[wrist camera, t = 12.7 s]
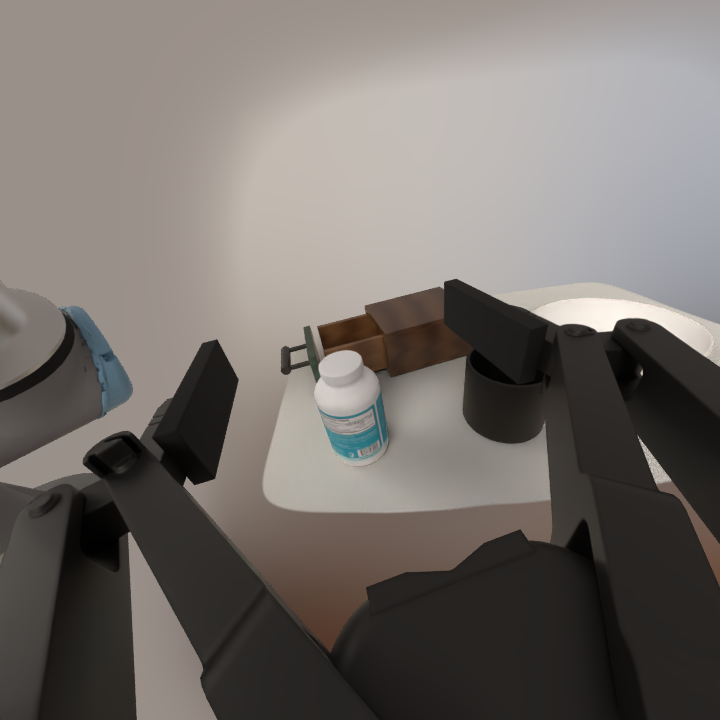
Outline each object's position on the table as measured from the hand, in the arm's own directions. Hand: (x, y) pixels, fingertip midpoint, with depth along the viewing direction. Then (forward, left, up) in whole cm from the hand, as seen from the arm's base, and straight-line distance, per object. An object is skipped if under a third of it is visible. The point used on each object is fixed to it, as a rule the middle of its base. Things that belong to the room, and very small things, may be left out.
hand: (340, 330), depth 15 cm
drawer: (+1, +28, -21) cm, 35 cm away
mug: (+20, +8, -22) cm, 31 cm away
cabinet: (+16, +28, -22) cm, 39 cm away
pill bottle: (0, +10, -22) cm, 24 cm away
